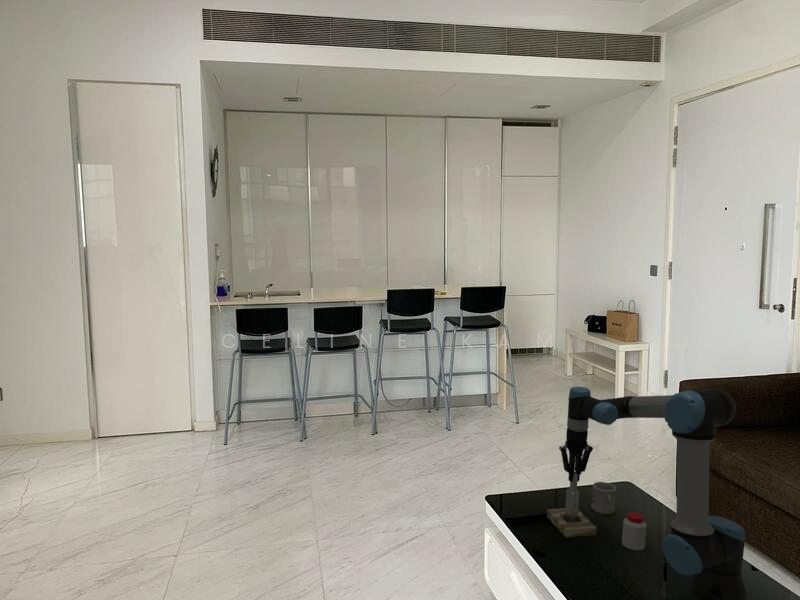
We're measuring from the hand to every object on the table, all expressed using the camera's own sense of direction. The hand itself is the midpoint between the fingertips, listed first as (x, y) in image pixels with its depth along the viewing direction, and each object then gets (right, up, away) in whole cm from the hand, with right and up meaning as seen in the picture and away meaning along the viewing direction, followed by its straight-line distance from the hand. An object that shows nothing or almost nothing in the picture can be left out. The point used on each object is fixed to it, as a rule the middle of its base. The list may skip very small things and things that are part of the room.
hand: (573, 489), depth 224 cm
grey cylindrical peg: (0, -14, +2) cm, 14 cm away
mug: (+16, -14, +14) cm, 26 cm away
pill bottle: (+18, -17, -11) cm, 27 cm away
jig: (0, -14, +2) cm, 14 cm away
